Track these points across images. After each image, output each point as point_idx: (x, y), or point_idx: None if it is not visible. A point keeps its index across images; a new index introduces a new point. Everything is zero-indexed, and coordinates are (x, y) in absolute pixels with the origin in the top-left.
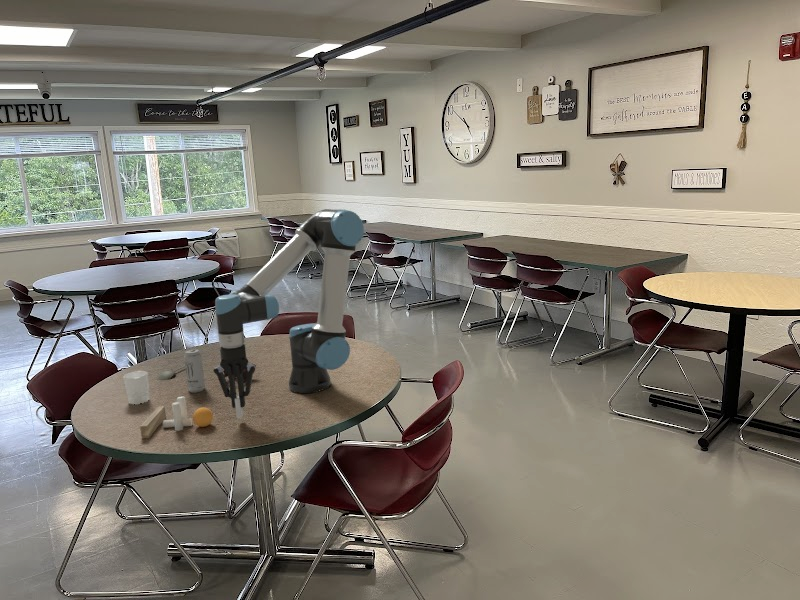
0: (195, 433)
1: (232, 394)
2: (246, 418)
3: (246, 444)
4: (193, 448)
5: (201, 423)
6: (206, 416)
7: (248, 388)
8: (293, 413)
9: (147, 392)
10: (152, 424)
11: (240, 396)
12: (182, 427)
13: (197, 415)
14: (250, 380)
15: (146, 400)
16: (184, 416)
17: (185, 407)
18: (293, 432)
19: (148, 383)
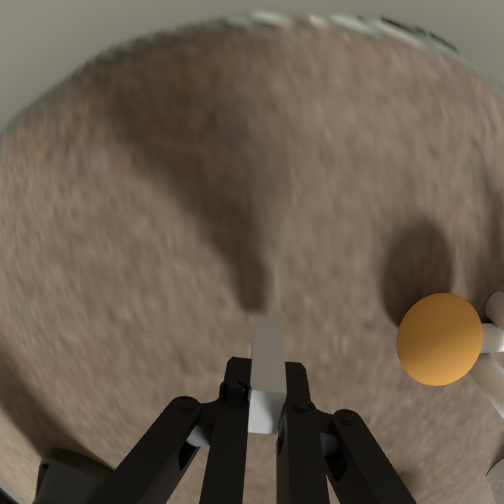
0: (455, 248)
1: (302, 422)
2: (242, 356)
3: (209, 49)
4: (446, 87)
5: (445, 293)
6: (436, 315)
7: (153, 437)
8: (63, 340)
9: (498, 481)
10: None
11: (238, 400)
12: (491, 304)
13: (474, 317)
14: (104, 486)
15: (497, 466)
16: (487, 364)
17: (496, 391)
18: (32, 151)
19: (497, 500)
